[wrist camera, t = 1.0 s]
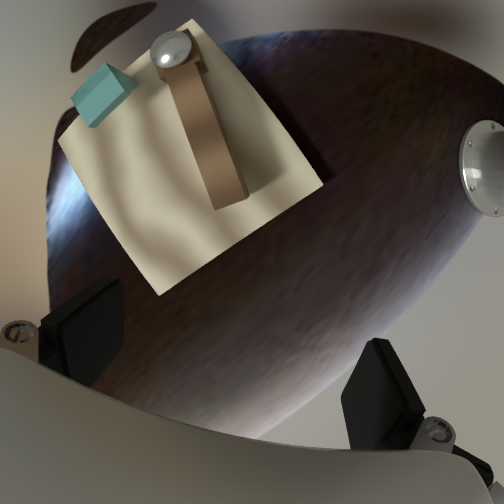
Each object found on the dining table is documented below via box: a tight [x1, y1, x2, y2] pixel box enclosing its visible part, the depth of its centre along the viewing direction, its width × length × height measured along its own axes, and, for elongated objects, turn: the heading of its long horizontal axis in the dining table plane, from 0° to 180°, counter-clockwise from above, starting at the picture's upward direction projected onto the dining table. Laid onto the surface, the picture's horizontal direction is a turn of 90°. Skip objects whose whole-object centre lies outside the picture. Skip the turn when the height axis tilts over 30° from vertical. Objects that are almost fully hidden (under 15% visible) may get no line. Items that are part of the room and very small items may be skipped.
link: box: [149, 28, 250, 211], centre depth 25 cm, size 18×4×4 cm, turn 20°
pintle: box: [150, 31, 192, 69], centre depth 23 cm, size 4×4×5 cm
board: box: [58, 19, 323, 295], centre depth 29 cm, size 22×24×2 cm
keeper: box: [71, 63, 138, 128], centre depth 24 cm, size 5×4×6 cm
